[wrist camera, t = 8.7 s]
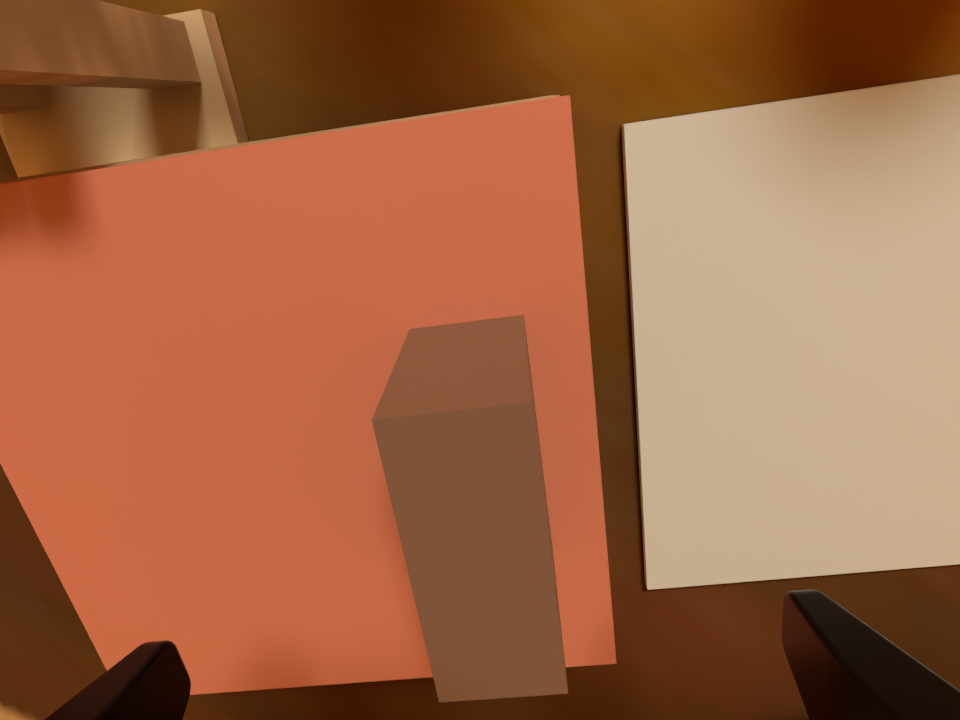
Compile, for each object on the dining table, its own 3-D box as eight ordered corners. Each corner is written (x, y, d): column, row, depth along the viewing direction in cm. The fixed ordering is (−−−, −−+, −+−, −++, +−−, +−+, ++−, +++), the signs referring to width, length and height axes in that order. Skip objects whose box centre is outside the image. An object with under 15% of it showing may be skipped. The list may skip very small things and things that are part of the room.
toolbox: (584, 520, 22) (631, 768, 14) (191, 557, 23) (23, 802, 15) (531, -43, 15) (560, -202, 7) (-11, 52, 17) (-498, 7, 9)
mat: (1111, 543, 21) (1121, 550, 21) (644, 582, 23) (647, 589, 22) (1269, 27, 15) (1288, 26, 15) (621, 124, 17) (623, 125, 16)
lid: (610, 633, 17) (649, 827, 13) (141, 670, 19) (21, 857, 14) (564, 95, 12) (602, 92, 7) (-89, 197, 13) (-405, 249, 9)
